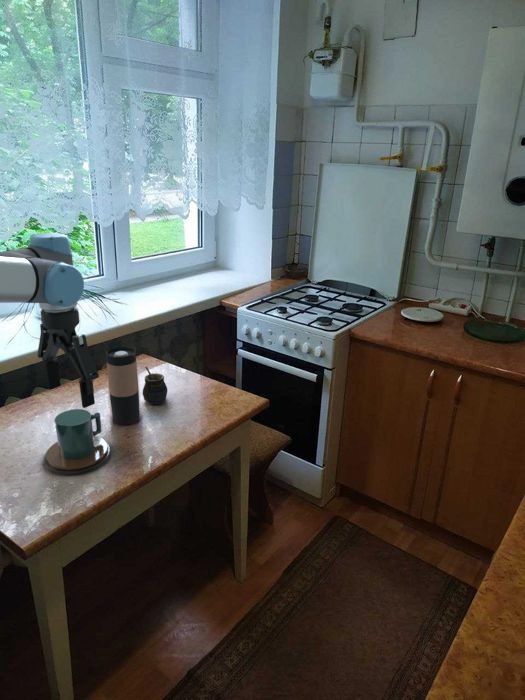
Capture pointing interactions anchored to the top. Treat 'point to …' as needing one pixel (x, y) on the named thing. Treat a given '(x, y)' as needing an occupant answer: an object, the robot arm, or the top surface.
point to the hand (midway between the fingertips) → (71, 396)
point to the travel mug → (123, 385)
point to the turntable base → (78, 471)
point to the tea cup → (76, 441)
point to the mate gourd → (154, 388)
